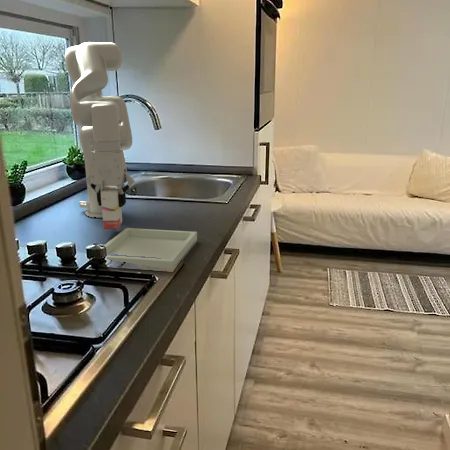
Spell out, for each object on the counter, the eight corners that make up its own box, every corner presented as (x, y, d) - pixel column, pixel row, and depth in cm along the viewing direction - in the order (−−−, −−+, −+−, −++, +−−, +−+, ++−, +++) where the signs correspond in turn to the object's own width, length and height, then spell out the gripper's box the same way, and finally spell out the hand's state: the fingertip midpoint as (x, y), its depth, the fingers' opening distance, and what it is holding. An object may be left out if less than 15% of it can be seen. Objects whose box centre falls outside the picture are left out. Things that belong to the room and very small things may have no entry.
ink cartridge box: (119, 229, 145) (116, 182, 140) (103, 229, 144) (99, 182, 140) (123, 220, 153) (120, 175, 148) (107, 221, 153) (103, 175, 148)
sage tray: (91, 266, 123) (89, 255, 123) (127, 237, 146) (126, 228, 145) (172, 272, 119) (172, 261, 118) (197, 241, 142) (196, 231, 141)
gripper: (74, 147, 139) (80, 207, 145) (130, 149, 136) (133, 210, 141) (86, 143, 146) (91, 200, 152) (139, 145, 143) (143, 203, 148)
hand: (111, 204), depth 147 cm, fingers closed on ink cartridge box, 5 cm apart
